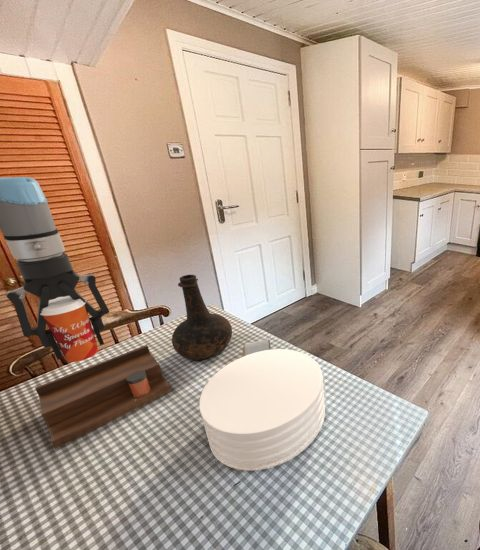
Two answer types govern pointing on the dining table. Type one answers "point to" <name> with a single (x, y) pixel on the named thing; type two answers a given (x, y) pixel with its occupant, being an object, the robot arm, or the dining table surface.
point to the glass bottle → (199, 326)
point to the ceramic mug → (256, 347)
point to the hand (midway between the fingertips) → (80, 349)
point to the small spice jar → (138, 383)
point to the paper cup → (71, 328)
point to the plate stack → (263, 408)
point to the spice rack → (97, 395)
